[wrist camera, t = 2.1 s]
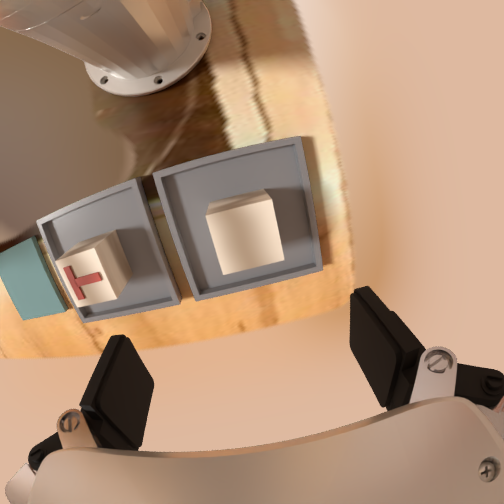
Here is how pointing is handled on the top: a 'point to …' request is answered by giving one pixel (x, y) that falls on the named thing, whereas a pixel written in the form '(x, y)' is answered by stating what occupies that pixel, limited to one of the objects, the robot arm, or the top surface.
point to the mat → (30, 281)
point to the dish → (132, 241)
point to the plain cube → (244, 231)
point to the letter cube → (95, 269)
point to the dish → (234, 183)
